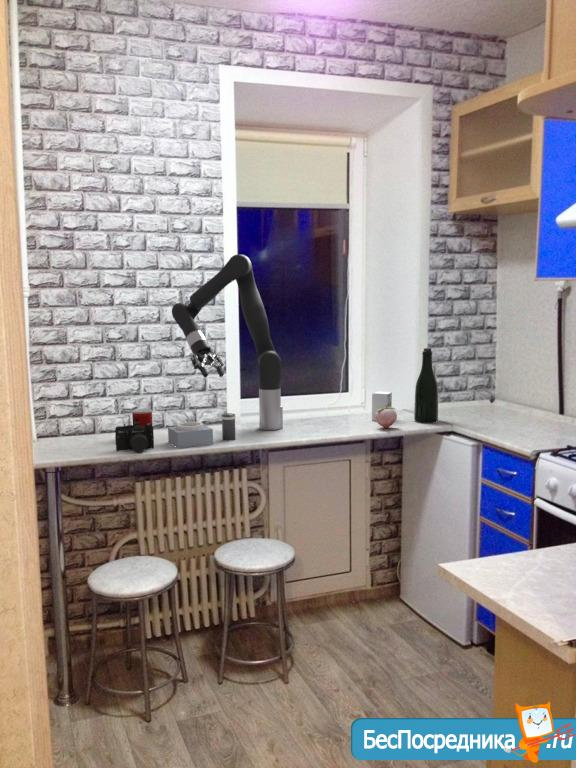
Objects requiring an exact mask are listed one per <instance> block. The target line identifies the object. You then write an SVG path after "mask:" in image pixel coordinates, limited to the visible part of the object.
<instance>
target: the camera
mask: <svg viewBox="0 0 576 768" xmlns="http://www.w3.org/2000/svg"><path fill="white" fill-rule="evenodd" d="M114 429H115V430H114V431H115V434H114V435H115V436H114V437H115V451H117V452H118V451H119V450H125V451H133V452H136V453H142V452H144V451H146V450H148V448H152V449H154V448H155V443H154V438H155V437H154V436H155V435H154V426H153V423H152V424H151V423H147V424H146V425H145V426H143V427H141V426H140V423H139V422H134V425H133V424H128V425H126V423H124V424H123V426H115V428H114ZM119 452H120V451H119Z"/></svg>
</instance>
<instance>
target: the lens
mask: <svg viewBox="0 0 576 768" xmlns="http://www.w3.org/2000/svg"><path fill="white" fill-rule="evenodd" d="M221 433H222V435H221V436H222V441H226V440H228V441H229V440H231V441H236V413H227V412H226V413H222V414H221Z"/></svg>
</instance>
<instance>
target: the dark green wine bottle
mask: <svg viewBox="0 0 576 768" xmlns="http://www.w3.org/2000/svg"><path fill="white" fill-rule="evenodd" d="M421 354H422V357H421V359H422V361H421V369H420V373H419V375H418V378H417V379H416V382H415V388H414V389H415V391H414V410H413V411H414V414H413V420H414V421H415V422H416V423H420V422H421V423H420V424H422V423H423V424H434V423H433V422H435V423H437V422H438V421H439V385H438V381H437V378H436V375H435V372H434V369H433V351H432V348H431V347H425V348H423V351H422V353H421ZM436 421H437V422H436Z"/></svg>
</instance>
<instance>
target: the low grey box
mask: <svg viewBox="0 0 576 768" xmlns="http://www.w3.org/2000/svg"><path fill="white" fill-rule="evenodd" d="M167 436H168V437H167V438H168V439H167V440H168V443H169V444H170V443H171V444H170V445H172V444H173V445H174V446H173V445H172V446H173V447H175V446H176V447H175V448H176V449H184V448H183V447H186V448H193V447H192V446H195V447H201V446H200V445H204V446H212V445H214V428H211V427H209V426H208V425H205V424H204V423H203V422H201V421H200V422H199V421H186V422H179V423H177V424H176V426H168V427H167Z"/></svg>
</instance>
